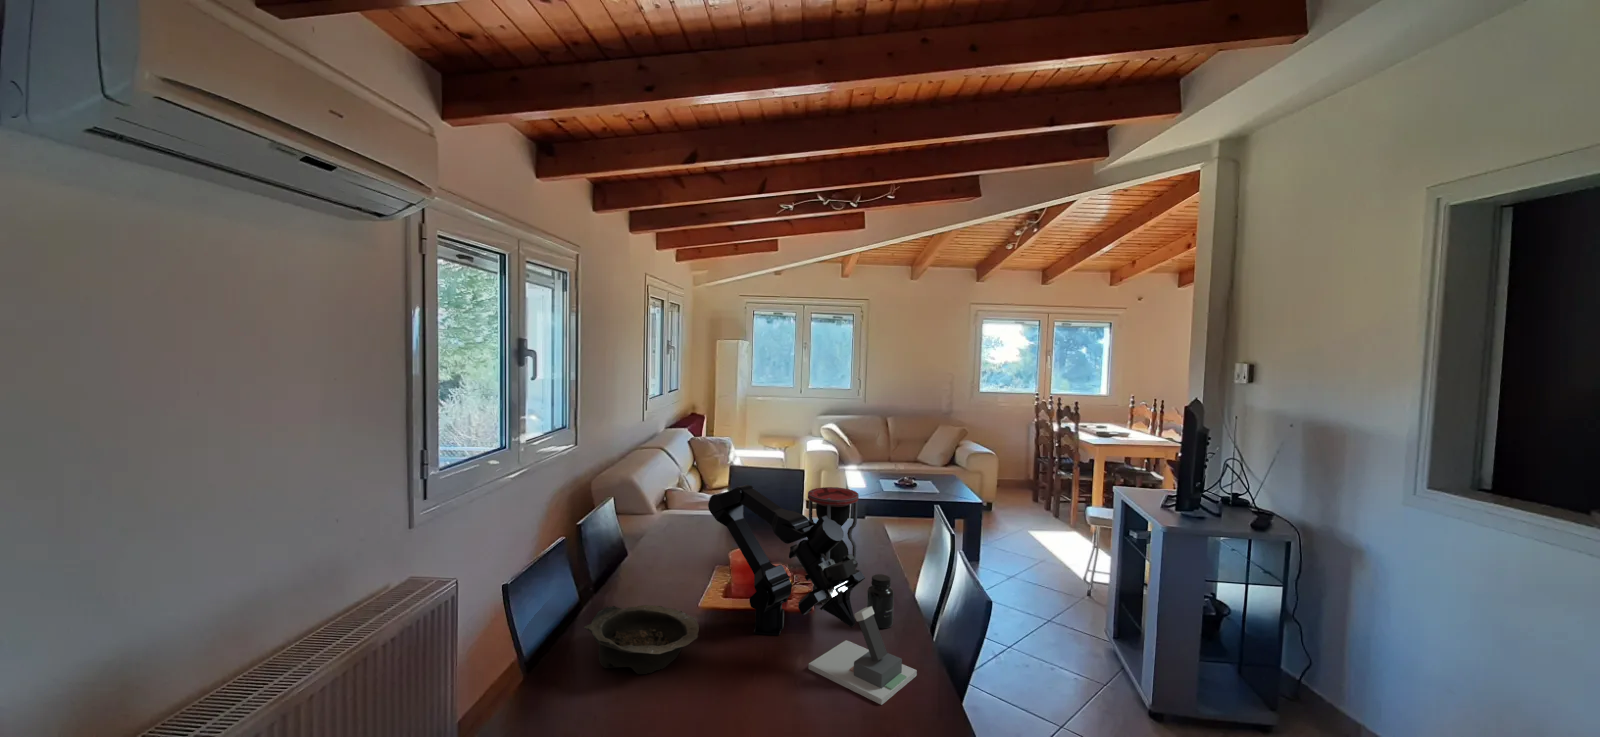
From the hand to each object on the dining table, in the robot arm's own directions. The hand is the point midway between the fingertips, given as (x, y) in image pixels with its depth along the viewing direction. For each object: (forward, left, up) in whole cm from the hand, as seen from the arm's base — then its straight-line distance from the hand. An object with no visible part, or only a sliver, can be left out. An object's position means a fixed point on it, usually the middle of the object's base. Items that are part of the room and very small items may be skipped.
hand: (853, 625), depth 129 cm
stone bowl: (-47, -1, -10) cm, 48 cm away
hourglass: (-7, +55, -10) cm, 56 cm away
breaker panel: (+2, -2, -10) cm, 10 cm away
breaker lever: (+6, -4, -5) cm, 8 cm away
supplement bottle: (+7, +22, -10) cm, 25 cm away
